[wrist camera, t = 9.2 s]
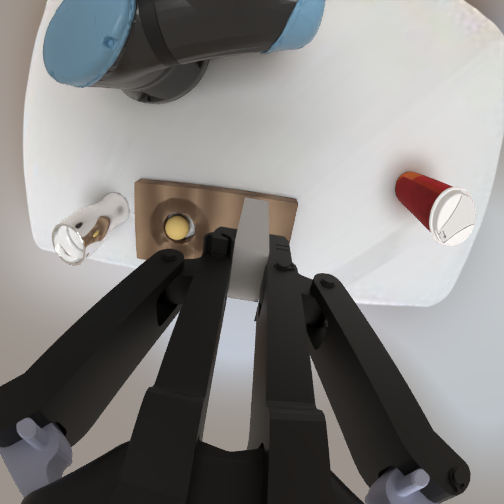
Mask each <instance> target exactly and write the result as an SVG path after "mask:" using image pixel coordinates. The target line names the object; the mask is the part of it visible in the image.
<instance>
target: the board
mask: <svg viewBox="0 0 504 504" xmlns="http://www.w3.org/2000/svg"><path fill="white" fill-rule="evenodd" d="M245 197H246V198H252V199H258V200H263V201H268V202H269V234H273V235H279V236H284V237H285V238H286V239H287V240H288V241H289V243H290V239H291V234H292V230H293V225H294V221H295V216H296V211H297V207H298V202H297V199H292V198H287V197H281V196H275V195H269V194H262V193H256V192H249V191H242V190H235V189H228V188H221V187H213V186H205V185H197V184H188V183H179V182H169V181H159V180H148V179H140V180H138V181H136V182H135V233H136V251H137V258H139V259H145V260H147V259H149V258H150V257H151V256H152V255H153V254H155V253H156V252H158V251H159V250H163V249H175V250H178V251H180V252H182V253H183V254H184V259H195V258H199V257H201V256H202V253H203V243H204V236H205V235H206V234H207V233H210V232H214V231H215V229H217V228H219V227H220V226H222V227H228V228H234V229H238V226H239V221H240V217H241V213H242V208H243V204H244V200H245ZM174 212H177V213H184V214H185V215H187V216H188V217H190V218H191V219H192V221H193V223H194V225H195V234H194V235H193V236H190V237H187V238H183V239H180V240H174V239H172V238H170V237H169V236H168V235H167V233H166V230H165V226H166V223H167V221H168V216H169V215H170V214H172V213H174Z"/></svg>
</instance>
